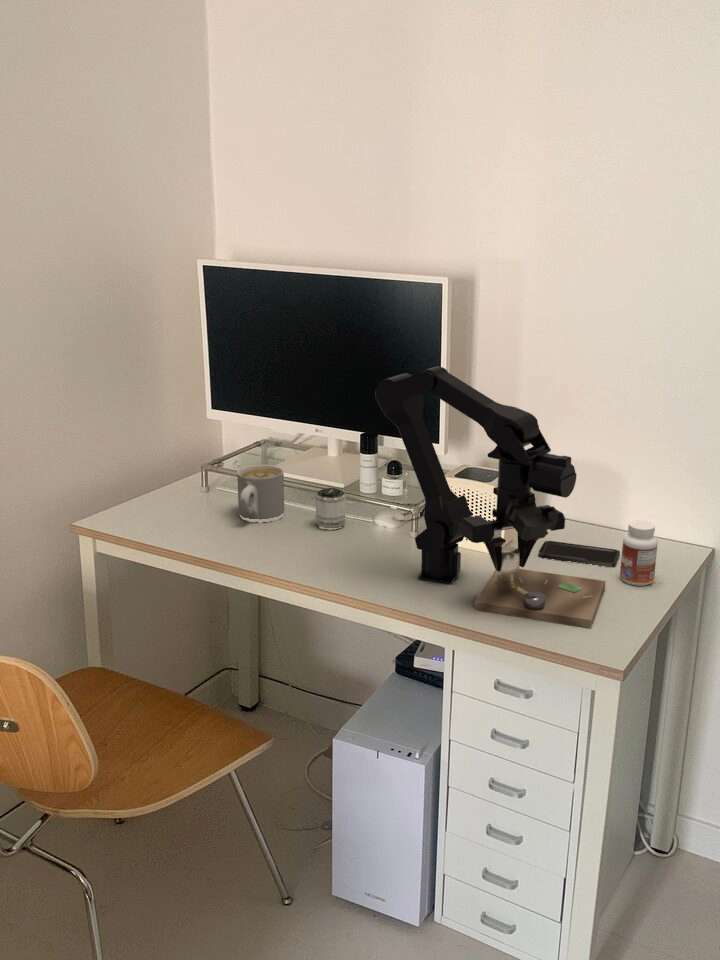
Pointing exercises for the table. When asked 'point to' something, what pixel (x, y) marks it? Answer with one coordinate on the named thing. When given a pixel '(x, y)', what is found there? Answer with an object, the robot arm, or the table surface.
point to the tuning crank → (516, 578)
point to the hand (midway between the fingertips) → (509, 568)
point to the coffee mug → (260, 491)
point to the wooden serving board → (563, 600)
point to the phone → (579, 553)
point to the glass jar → (330, 508)
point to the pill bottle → (639, 553)
